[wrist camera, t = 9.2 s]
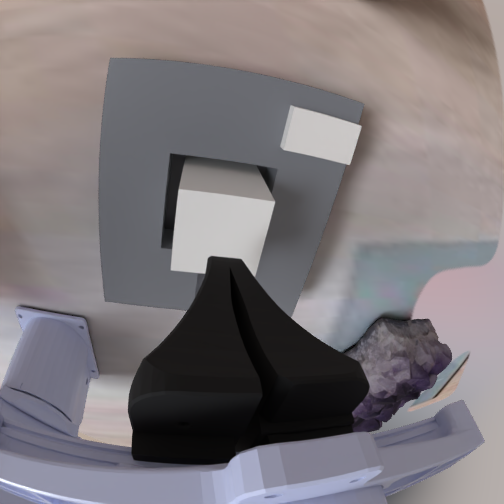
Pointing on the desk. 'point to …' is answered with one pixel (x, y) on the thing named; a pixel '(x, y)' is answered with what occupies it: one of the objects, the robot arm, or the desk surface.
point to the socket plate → (217, 147)
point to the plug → (219, 215)
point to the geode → (396, 367)
